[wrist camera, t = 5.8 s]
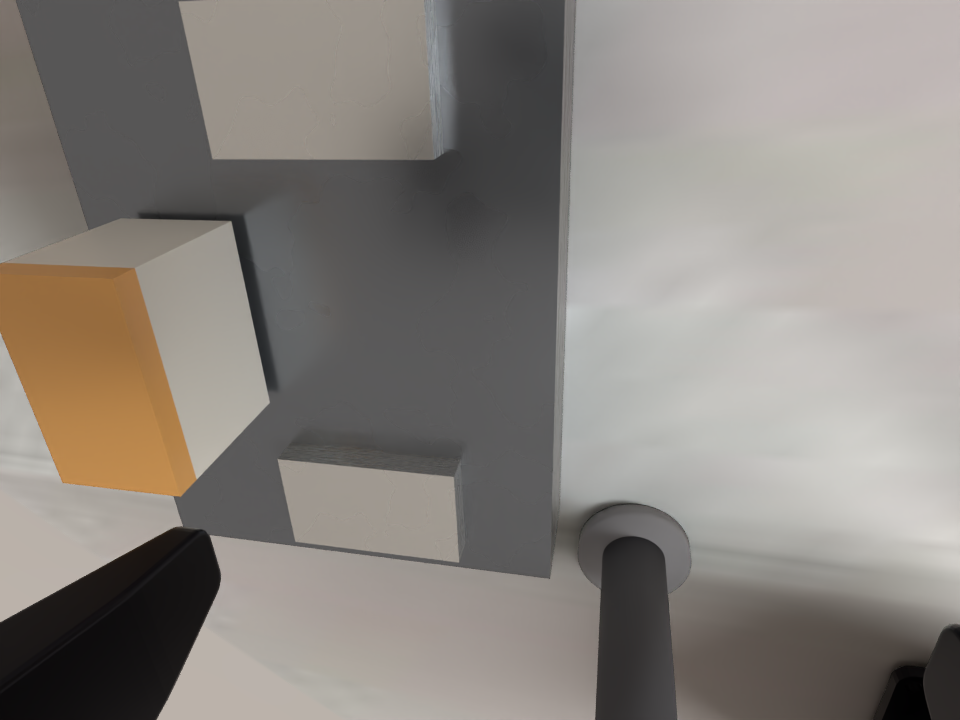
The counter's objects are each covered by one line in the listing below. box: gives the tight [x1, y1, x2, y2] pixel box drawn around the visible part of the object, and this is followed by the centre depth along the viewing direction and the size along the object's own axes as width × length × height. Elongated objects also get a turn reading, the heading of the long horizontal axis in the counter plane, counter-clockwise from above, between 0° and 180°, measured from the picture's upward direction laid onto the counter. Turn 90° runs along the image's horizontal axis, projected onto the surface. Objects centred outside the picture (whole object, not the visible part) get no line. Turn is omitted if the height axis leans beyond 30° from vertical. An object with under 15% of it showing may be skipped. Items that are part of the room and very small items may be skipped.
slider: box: [0, 218, 270, 497], centre depth 15 cm, size 5×3×4 cm, turn 2°
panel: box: [16, 0, 576, 579], centre depth 17 cm, size 16×12×4 cm
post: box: [578, 504, 691, 720], centre depth 17 cm, size 4×4×9 cm
